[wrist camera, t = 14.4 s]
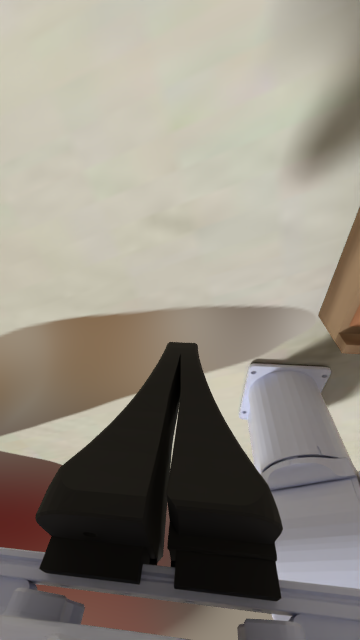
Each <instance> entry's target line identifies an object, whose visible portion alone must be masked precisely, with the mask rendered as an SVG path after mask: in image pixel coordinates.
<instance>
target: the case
mask: <svg viewBox="0 0 360 640" xmlns="http://www.w3.org/2000/svg"><path fill="white" fill-rule="evenodd" d="M318 316H319V318H320V319H321V321H322V322H323V324H324V325H325V327H326V329H327V330H328V332H329V333H330V335H331V336H332V338H333V340H334V341H335V343H336V344H337V346H338V348H339V349H340V351H341V352H342V353H347V354H360V208H359V210H358V213H357V216H356V218H355V221H354V223H353V226H352V229H351V231H350V234H349V236H348V239H347V242H346V244H345V247H344V249H343V252H342V255H341V257H340V260H339V262H338V265H337V268H336V270H335V273H334V276H333V278H332V281H331V283H330V286H329V289H328V291H327V294H326V296H325V299H324V302H323V304H322V307H321V309H320V312H319V315H318Z"/></svg>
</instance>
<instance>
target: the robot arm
mask: <svg viewBox="0 0 360 640" xmlns="http://www.w3.org/2000/svg"><path fill="white" fill-rule="evenodd" d="M252 371H253V372H252ZM330 374H331V370H330V368H329V367H318V366H297V365H277V364H256V363H254V364H251V365H250V366H249V369H248V374H247V378H246V383H245V388H244V392H243V397H242V402H241V407H240V411H239V418H240V419H247V420H248V426H249V433H250V440H251V446H252V453H253V460H254V465H253V464H252V462H251V461H250V459H249V458H248V457H247V455H246V454H245V452H244V451H243V449H242V448H241V446H240V445H239V443H238V441H237V440H236V438H235V437H234V435H233V433H232V432H231V430H230V428H229V427H228V425H227V423H226V422H225V420H224V418H223V416H222V414H221V412H220V410H219V408H218V406H217V404H216V402H215V400H214V398H213V396H212V393H211V391H210V389H209V386H208V384H207V381H206V378H205V376H204V373H203V370H202V367H201V363H200V359H199V354H198V346H197V344H195V343H178V342H169V343H168V344H167V347H166V349H165V351H164V353H163V355H162V357H161V359H160V360H159V362H158V364H157V365H156V367H155V369H154V370H153V372H152V373H151V375H150V376H149V378H148V379H147V381H146V382H145V384H144V385H143V386H142V388H141V389H140V390H139V392H138V393H137V394H136V395H135V397H134V398H133V399H132V400H131V402H130V403H129V404H128V405H127V406H126V407H125V409H124V410H123V411H122V412H121V413H120V414H119V415H118V416H117V417H116V418H115V419H114V420H113V421H112V422H111V423H110V424H109V425H108V426H107V427H106V428H105V429H104V430H103V431H102V432H101V433H100V434H99V435H98V436H97V437H96V438H95V439H93V440H92V441H91V442H90V443H89V444H88V445H87V446H86V447H84V448H83V449H82V450H81V451H80V452H78V453H77V454H76V455H75V456H73V457H72V458H71V459H70V460H69V461H67V462H66V463H65V464H64V465H62V466H61V467H60V469H59V470H58V472H57V473H56V475H55V477H54V478H53V480H52V482H51V484H50V485H49V487H48V489H47V491H46V494H45V496H44V498H43V500H42V503H41V505H40V507H39V509H38V511H37V514H36V521H37V523H38V524H39V525H40V526H41V527H42V528H43V529H44V530H45V531H46V532H48V533H49V534H50V535H51V536H52V537H51V539H50V542H49V544H48V547H47V550H46V552H35V551H27V550H19V549H10V548H1V547H0V640H189V639H182V638H175V637H168V636H162V635H155V634H147V633H140V632H133V631H126V630H119V629H111V628H103V627H96V626H88V625H80V623H81V620H82V616H83V612H84V608H85V607H84V605H83V604H81V603H77V602H74V601H71V600H69V599H67V598H66V597H65V596H63V595H58V594H53V593H48V592H43V591H38V590H37V587H36V585H35V584H40V585H48V586H56V587H64V588H72V589H79V590H88V591H95V592H104V593H111V594H119V595H128V596H136V597H143V598H150V599H158V600H167V601H174V602H183V603H190V604H198V605H206V606H214V607H221V608H230V609H238V610H245V611H253V612H262V613H269V614H272V617H273V619H274V620H262V619H246V620H245V622H244V624H240V625H239V626H238V640H360V471H359V472H358V471H357V470H356V468H355V467H354V465H353V463H352V461H351V459H350V457H349V455H348V452H347V450H346V448H345V446H344V443H343V441H342V439H341V437H340V435H339V432H338V430H337V428H336V426H335V423H334V421H333V419H332V417H331V415H330V412H329V410H328V408H327V406H326V403H325V401H324V399H323V397H322V395H321V392H322V390H323V388H324V386H325V384H326V382H327V380H328V378H329V376H330ZM179 403H180V404H179ZM178 409H179V412H178ZM177 414H178V420H177V427H176V435H175V441H174V448H173V455H172V462H171V452H172V443H173V436H174V430H175V425H176V419H177ZM170 463H171V468H170ZM169 474H170V475H169ZM167 502H168V510H169V517H170V526H169V535H168V549H169V551H170V557H171V567H165V566H157V562H158V561H159V560H160V559H161V558H162V557H163V549H164V548H163V547H164V534H165V522H166V510H167Z"/></svg>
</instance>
